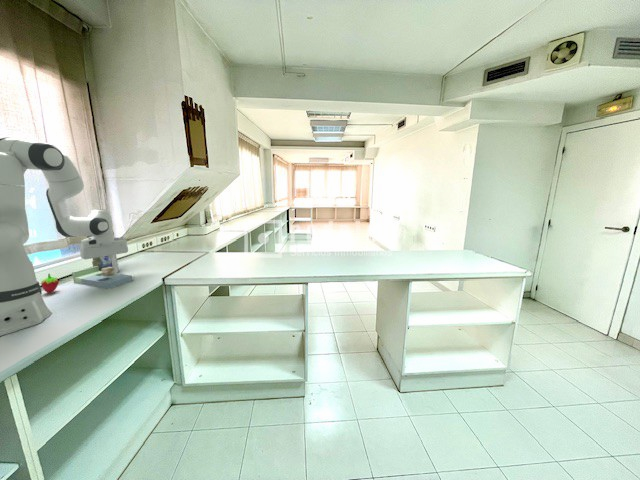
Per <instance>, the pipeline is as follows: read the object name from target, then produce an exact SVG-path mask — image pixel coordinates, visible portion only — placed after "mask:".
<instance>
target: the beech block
mask: <svg viewBox="0 0 640 480" xmlns="http://www.w3.org/2000/svg"><path fill="white" fill-rule="evenodd" d="M101 270H102V275H103V276H111V275H114V274H115V270H114V267H106V268H103V269H101Z"/></svg>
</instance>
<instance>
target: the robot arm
mask: <svg viewBox="0 0 640 480" xmlns="http://www.w3.org/2000/svg"><path fill="white" fill-rule="evenodd" d="M28 170H35V171H36V170H37V171H38V170H39V171H41V172H42V173H43V176H44V178H45V179H46V181H47V183H48V188H47V189H46V200H47V203H48V204H49V207H50V211H51V212H52V215H53V218H54V221H55V227H56V231H57V233H59V234H60V235H61V236H63V237H65V238H72V237H73V238H74V237H75V238H76V237H87V236H92V237H89V238H84V239H82V240H80V242H81V244H82V245H80V249H79V250H80V251H79V252H80V258H81V259H83V260H90V259H92V260H93V258H98V257H100V259H101V260H102V261H103V264H110V263H111V259H112V258H113V255H116V256H117V255H121V254H127V253H128V252H129V248H128V244H127V243H128V240H127V238H126V237H123V236H119V237H115V235H114V230H113V220H112V217H111V216H112V215H111V214H110V211H109V210H107V209H103V208H102V209H100V208H93V209H90V212H89V214H88V215H87V217H86V216H73V215H71V214H70V212H69V209H68V207H67V203H66V200H67V199H71V198H74V197H75V196H77V195H79V194H80V193H81V192H82V191H83V190H84V186H85V185H84V181H83V179H82V177H81V174H80V173H79V171H78V169H77V167H76V166H75V164H74V163H73V161H72V160H71V159H70V158H69V156H68V155H67V154H66V153H65V152H62V151H61V150H60V149H59V148H58V147H57V146H55V145H54V144H51V143H48V142H45V141H36V140H31V139H27V138H19V137H18V138H16V137H13V138H12V137H0V337H2V336H4V335H7V334H10V333H15V332H18V331H20V330H23V329H26V328H30V327H32V326H35V325H38V324H41V323H42V322H44V320H45V319H47V318H48V317H50V315H52V311H51V310H50V309H49V307H48V306H47V304H46V303H45V301H44V298H43V296H42V294H43V292H42V286H41V284H40V282H39V281H38V280H37V277H36V271H35V268H34V265H33V261H31V260H30V258H29V256H28V253H27V251H26V249H25V247H24V245H25V244H26V243H27V242H28V240H29V237H30V232H29V231H30V230H29V222H28V216H27V215H28V214H27V210H26V192H25V191H26V187H25V185H26V184H25V182H26V181H25V172H26V171H28ZM105 256H108V257H109V259H108V260H104V259H103V258H105Z"/></svg>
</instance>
